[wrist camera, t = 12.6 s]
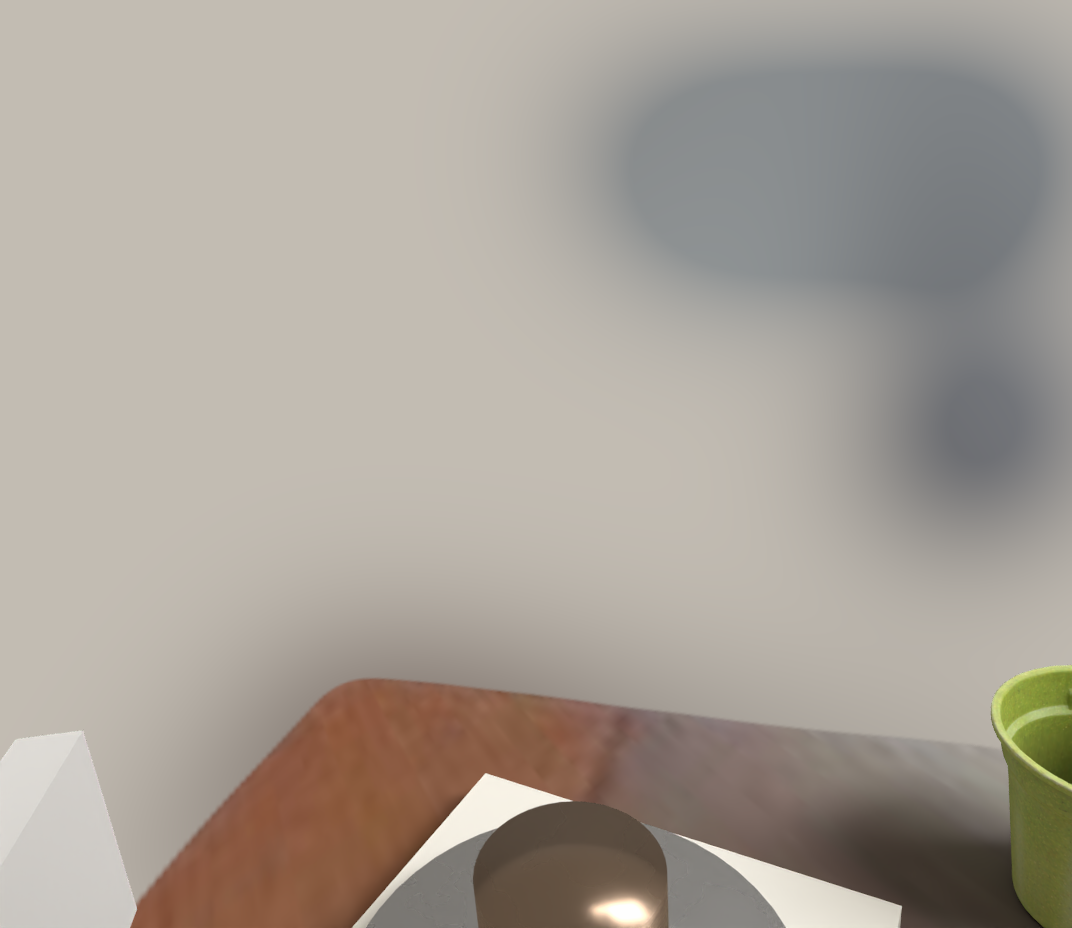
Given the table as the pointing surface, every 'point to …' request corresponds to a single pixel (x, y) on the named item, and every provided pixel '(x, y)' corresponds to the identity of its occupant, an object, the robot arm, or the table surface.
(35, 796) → the robot arm
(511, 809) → the dial board
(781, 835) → the table surface
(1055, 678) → the plant pot
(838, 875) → the table surface
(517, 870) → the dial
